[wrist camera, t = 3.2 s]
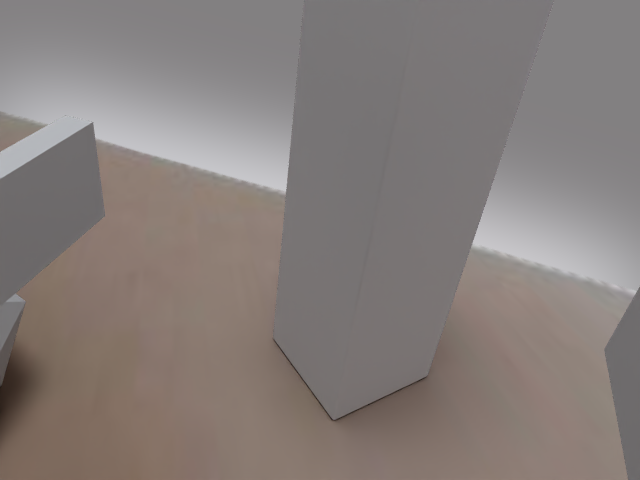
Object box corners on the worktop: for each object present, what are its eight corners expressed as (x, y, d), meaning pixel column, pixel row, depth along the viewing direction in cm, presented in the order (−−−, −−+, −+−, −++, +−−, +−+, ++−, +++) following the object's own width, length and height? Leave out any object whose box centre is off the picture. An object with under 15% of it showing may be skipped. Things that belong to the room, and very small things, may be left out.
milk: (361, 306, 33) (458, -147, 20) (429, 378, 29) (602, -127, 17) (269, 339, 30) (316, -168, 17) (331, 425, 26) (451, -150, 13)
